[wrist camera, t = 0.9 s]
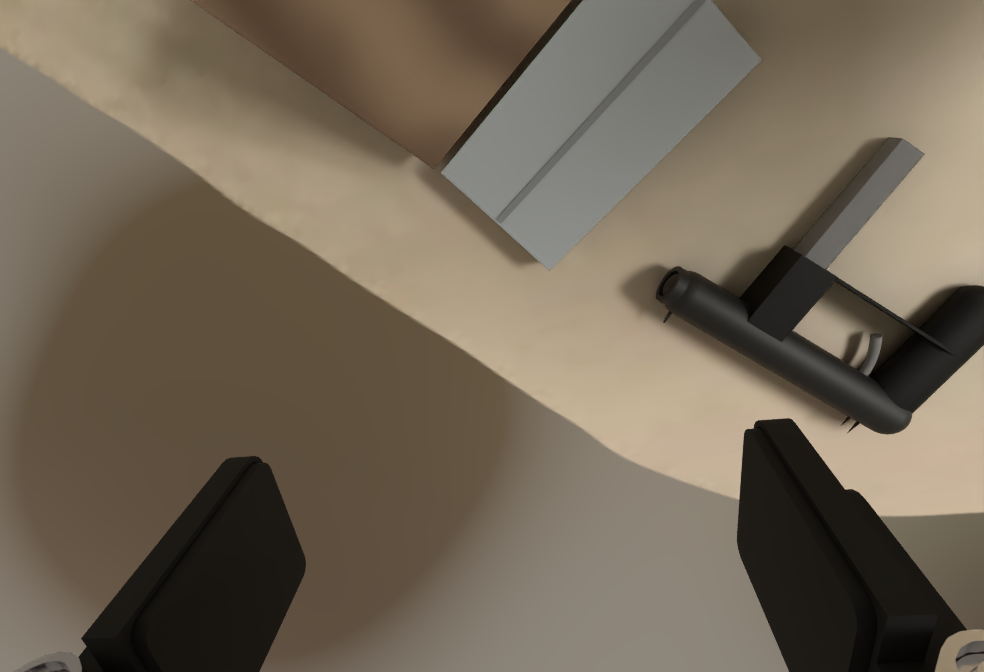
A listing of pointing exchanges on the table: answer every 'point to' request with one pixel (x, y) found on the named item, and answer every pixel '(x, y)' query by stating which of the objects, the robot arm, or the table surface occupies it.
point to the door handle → (802, 282)
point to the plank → (398, 56)
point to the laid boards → (597, 116)
